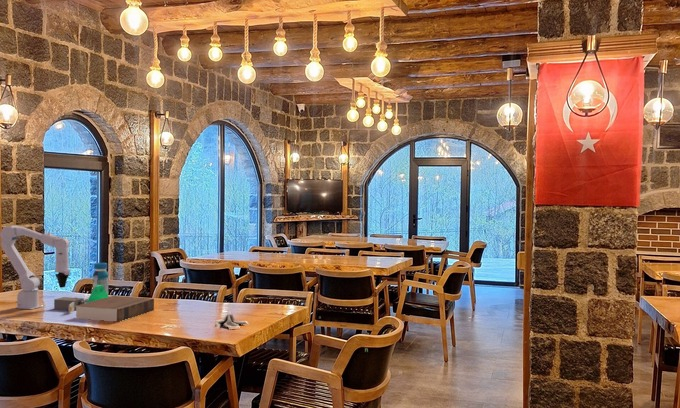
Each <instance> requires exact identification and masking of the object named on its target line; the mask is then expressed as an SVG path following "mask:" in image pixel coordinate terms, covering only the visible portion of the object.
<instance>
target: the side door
mask: <svg viewBox="0 0 680 408" xmlns="http://www.w3.org/2000/svg"><path fill="white" fill-rule="evenodd" d="M73 312H76V310H75V302H72V303H71V304H70V305H69V310H68V315H71V314H72V313H73Z"/></svg>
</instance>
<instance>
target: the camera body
mask: <svg viewBox="0 0 680 408" xmlns="http://www.w3.org/2000/svg"><path fill="white" fill-rule="evenodd" d="M72 302H75V306H77V305H80V304H84V303H85V298H81V297H79V296H75V297H70V296H69V297H67V296H64V297H59V298H54V302H53V303H54V304H53V305H54V306H53V307H54V308H53V309H54V310H59V309H60V311H62V310H63V311H69V305H70V304H71V303H72ZM75 311H76V307H75Z"/></svg>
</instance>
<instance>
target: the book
mask: <svg viewBox="0 0 680 408" xmlns="http://www.w3.org/2000/svg"><path fill="white" fill-rule="evenodd" d="M75 307H76V310H75V312H76V314H75V315H76V316H75V318H77V320H88V319H91V320H90V321H100V320H104V321H103V322H113V321H117V322H116V323H121V322H123V321H122V320H124V321H126V320H125V319H127V320H129V319H128V318H130V319H132V317H133V318H135V316H136V317H139V316H142V315H144V313H145V314H147V312H148V313H150V311H151V312H152V311H153V312H154V310H155V299H154V298H153V297H152V298H148V297H135V296H134V297H132V296H122V295H121V296H120V295H111V296H109V297H107V298H103V299H100V300H96V301H92V302H88V303H87V302H84V304H80V305H77V306H75ZM141 314H142V315H141ZM138 315H139V316H138ZM120 321H121V322H120Z"/></svg>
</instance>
